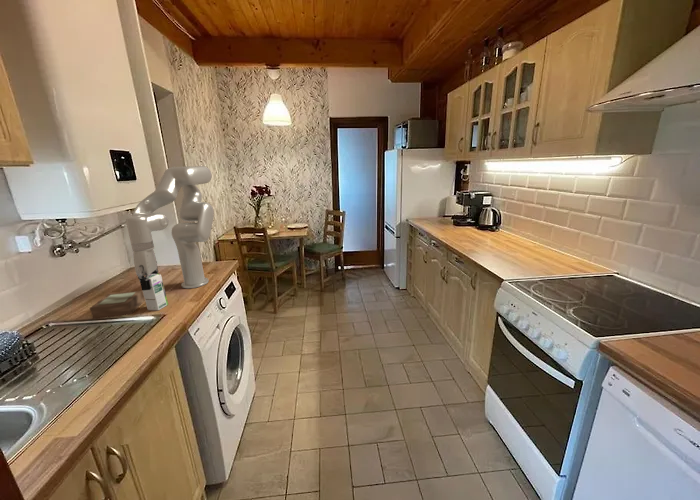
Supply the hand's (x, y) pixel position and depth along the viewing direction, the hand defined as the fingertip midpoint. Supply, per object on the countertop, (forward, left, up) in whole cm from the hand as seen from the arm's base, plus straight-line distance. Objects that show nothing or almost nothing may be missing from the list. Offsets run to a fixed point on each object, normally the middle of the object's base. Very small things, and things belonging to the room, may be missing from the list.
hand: (151, 285), depth 135 cm
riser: (-4, -16, -10) cm, 19 cm away
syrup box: (-1, 0, -11) cm, 11 cm away
